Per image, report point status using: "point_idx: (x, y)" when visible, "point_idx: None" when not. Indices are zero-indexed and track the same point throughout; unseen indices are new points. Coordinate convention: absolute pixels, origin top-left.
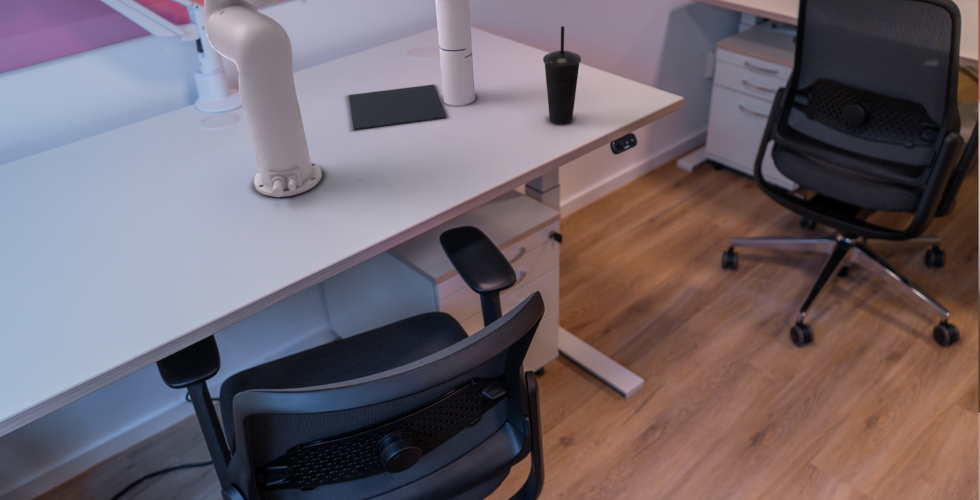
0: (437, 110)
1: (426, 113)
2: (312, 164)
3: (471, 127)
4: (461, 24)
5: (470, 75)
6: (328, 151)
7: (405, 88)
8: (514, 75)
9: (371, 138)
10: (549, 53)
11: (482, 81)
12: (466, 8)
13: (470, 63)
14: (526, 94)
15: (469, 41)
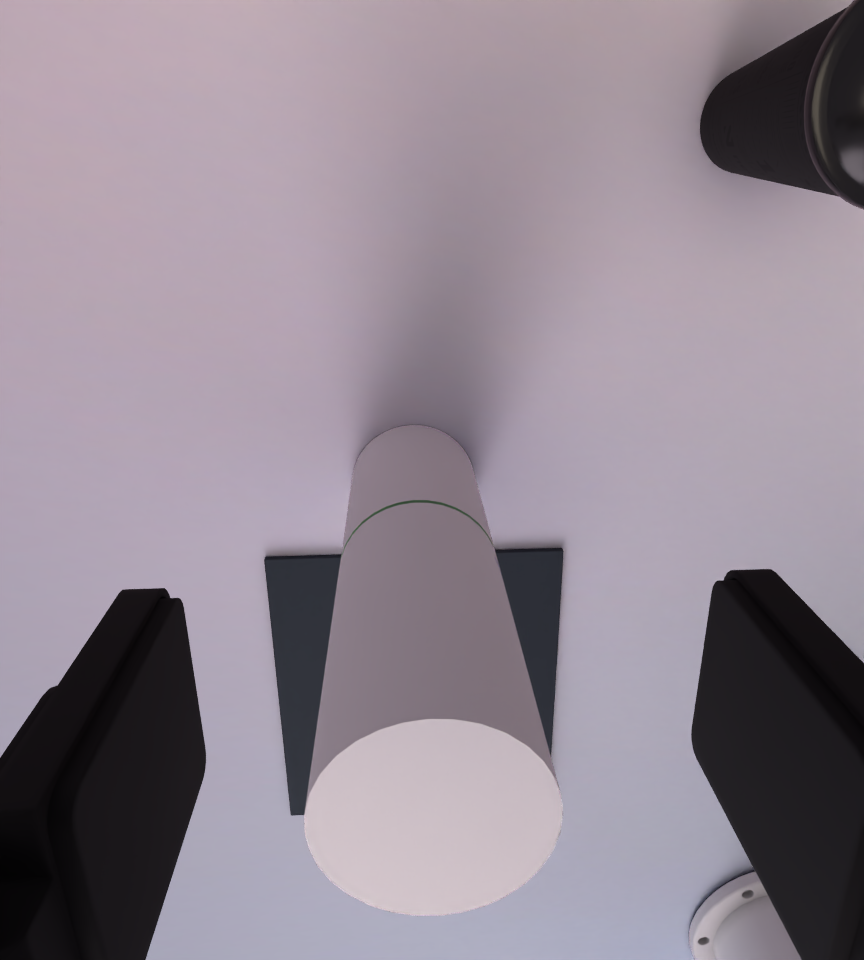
0: (504, 572)
1: (516, 608)
2: (741, 893)
3: (665, 477)
4: (519, 643)
5: (466, 483)
6: (652, 853)
7: (278, 654)
8: (219, 206)
9: (618, 759)
10: (826, 150)
11: (258, 365)
12: (510, 660)
13: (468, 501)
14: (448, 204)
15: (477, 548)
